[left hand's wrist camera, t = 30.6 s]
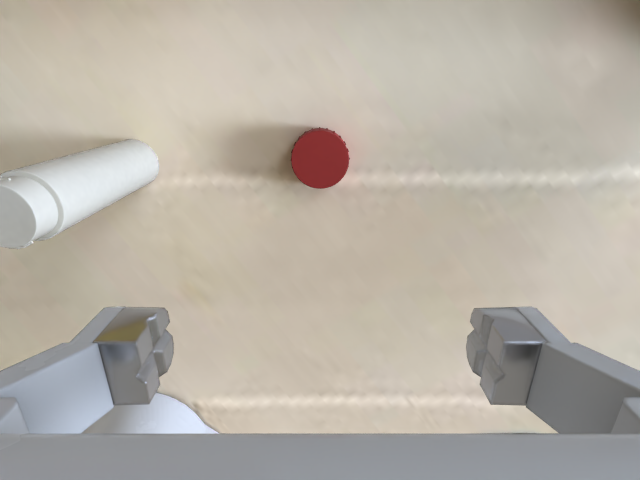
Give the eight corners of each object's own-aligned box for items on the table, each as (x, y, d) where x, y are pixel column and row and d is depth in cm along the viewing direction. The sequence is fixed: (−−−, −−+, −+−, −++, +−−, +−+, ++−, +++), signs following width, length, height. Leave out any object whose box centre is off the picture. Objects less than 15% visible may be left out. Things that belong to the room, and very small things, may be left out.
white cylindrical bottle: (102, 152, 36) (-59, 200, 21) (140, 130, 35) (1, 163, 20) (131, 193, 37) (0, 265, 22) (168, 172, 36) (59, 233, 21)
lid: (359, 161, 36) (361, 165, 34) (315, 194, 37) (315, 200, 35) (324, 115, 34) (325, 116, 32) (280, 151, 36) (278, 155, 34)
